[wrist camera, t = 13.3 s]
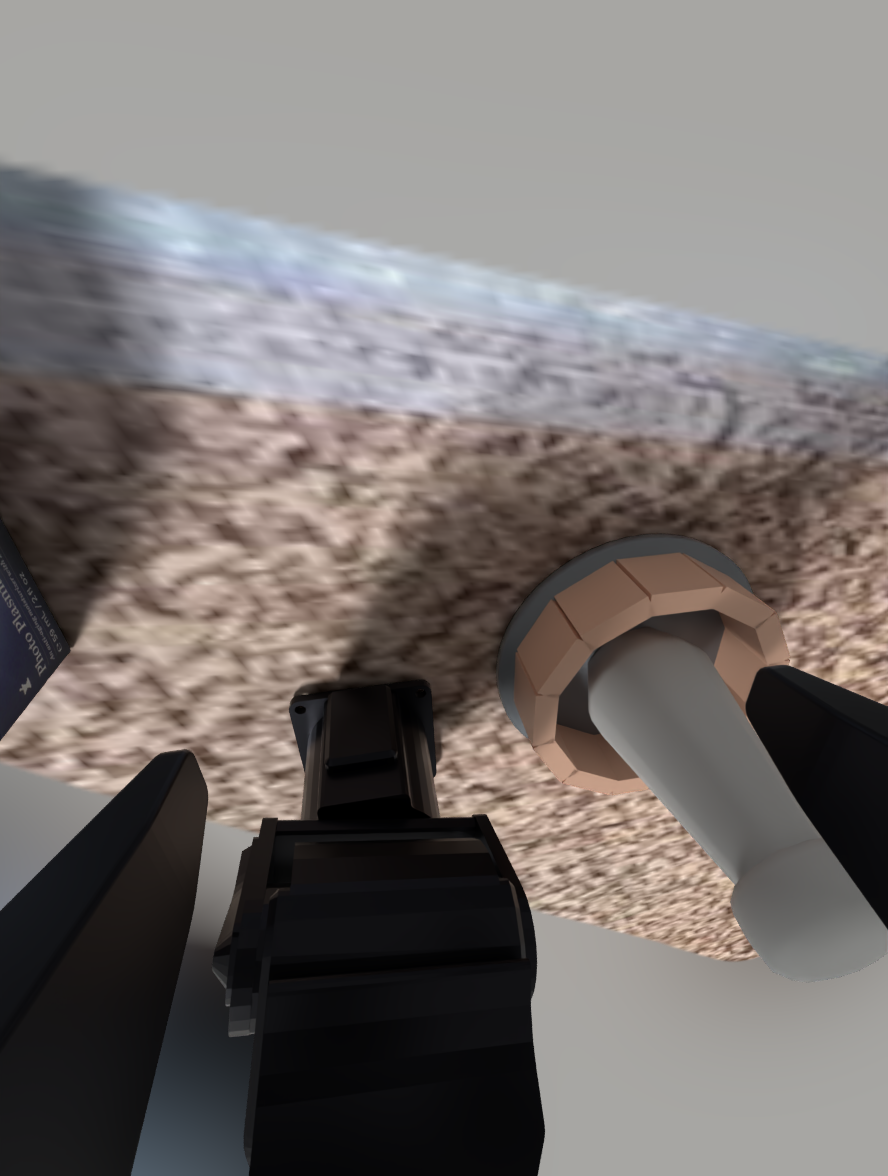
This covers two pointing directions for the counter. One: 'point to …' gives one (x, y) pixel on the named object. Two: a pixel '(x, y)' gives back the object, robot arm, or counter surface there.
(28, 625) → the small box
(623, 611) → the socket
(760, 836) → the salt shaker
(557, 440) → the counter surface
